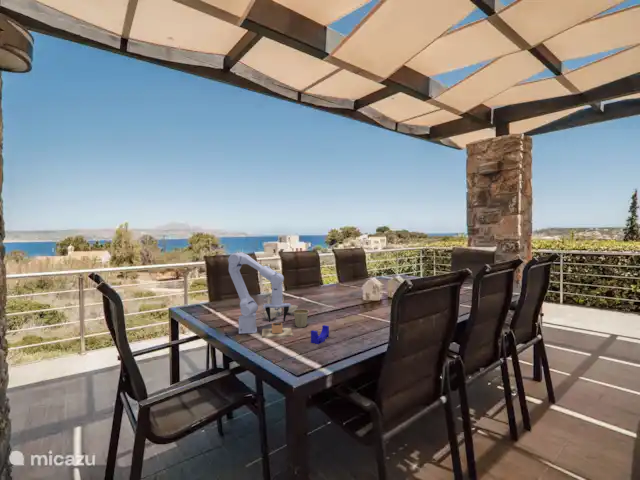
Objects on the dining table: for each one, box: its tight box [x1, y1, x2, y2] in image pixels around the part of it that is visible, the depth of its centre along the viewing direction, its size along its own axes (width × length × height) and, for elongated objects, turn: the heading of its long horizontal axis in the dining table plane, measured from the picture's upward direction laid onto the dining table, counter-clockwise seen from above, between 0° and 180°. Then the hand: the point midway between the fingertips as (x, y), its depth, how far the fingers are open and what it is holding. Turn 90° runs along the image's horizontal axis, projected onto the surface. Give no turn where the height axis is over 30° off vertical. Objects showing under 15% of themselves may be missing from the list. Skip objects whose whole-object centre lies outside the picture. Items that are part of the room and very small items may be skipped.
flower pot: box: [293, 308, 310, 328], centre depth 191 cm, size 9×9×9 cm
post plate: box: [261, 322, 294, 339], centre depth 178 cm, size 16×12×6 cm
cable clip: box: [310, 324, 330, 345], centre depth 168 cm, size 12×4×6 cm, turn 146°
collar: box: [271, 322, 284, 333], centre depth 177 cm, size 6×6×4 cm
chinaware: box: [261, 293, 299, 321], centre depth 212 cm, size 28×17×17 cm, turn 142°
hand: (277, 321), depth 177 cm, fingers open, 7 cm apart
